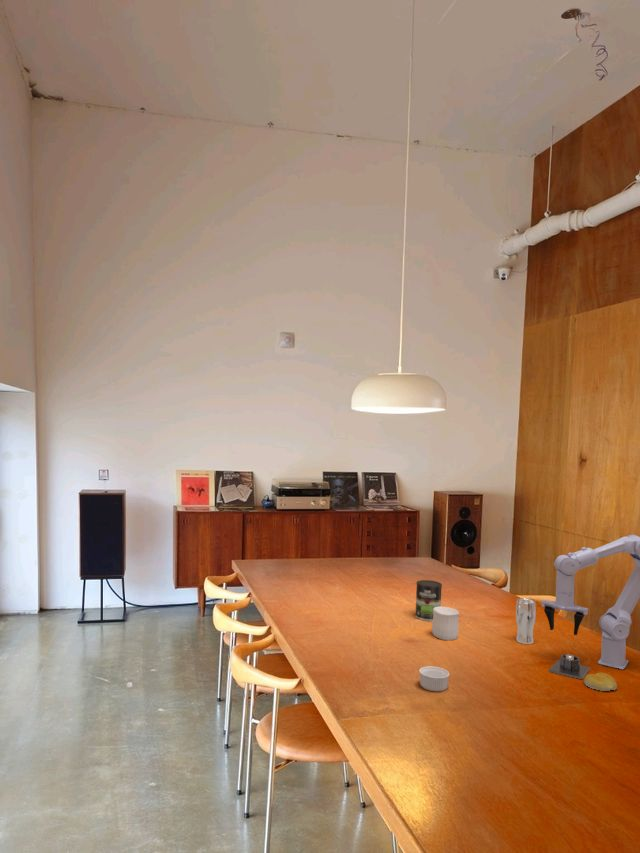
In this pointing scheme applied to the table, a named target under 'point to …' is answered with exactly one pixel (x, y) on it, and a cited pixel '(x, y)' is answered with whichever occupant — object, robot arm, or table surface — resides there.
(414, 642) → the table surface
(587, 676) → the bread roll
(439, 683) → the ramekin
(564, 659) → the ring
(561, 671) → the square steel plate
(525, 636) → the beer glass
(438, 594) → the coffee can
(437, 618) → the cup
